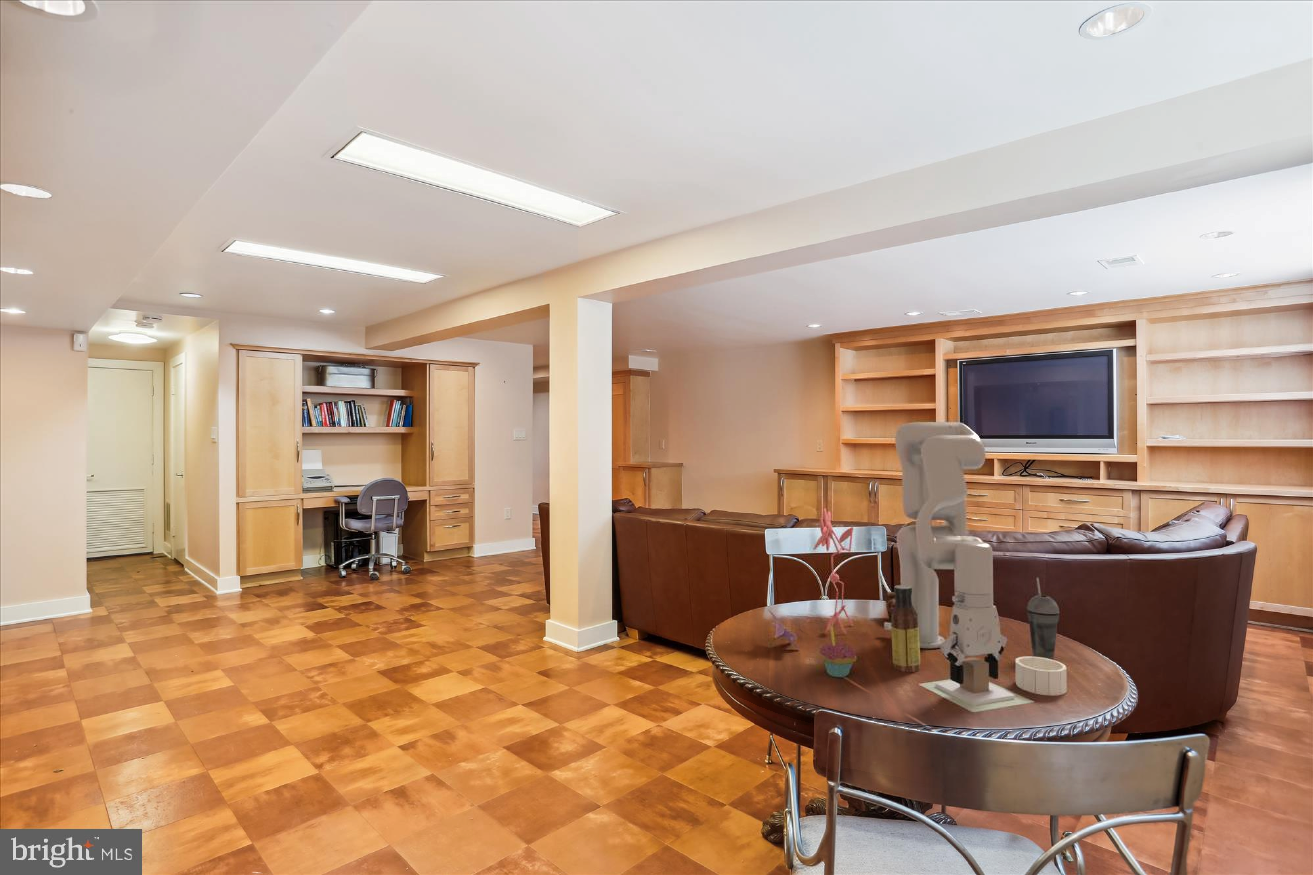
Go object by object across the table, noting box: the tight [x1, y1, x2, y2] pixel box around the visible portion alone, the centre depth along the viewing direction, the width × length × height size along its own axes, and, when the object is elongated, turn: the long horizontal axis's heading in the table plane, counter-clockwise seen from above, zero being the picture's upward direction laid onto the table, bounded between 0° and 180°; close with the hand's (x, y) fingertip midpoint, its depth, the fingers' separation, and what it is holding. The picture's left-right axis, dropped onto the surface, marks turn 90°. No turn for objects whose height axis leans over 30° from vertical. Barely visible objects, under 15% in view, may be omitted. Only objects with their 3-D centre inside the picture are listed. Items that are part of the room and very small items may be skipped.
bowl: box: [1015, 655, 1068, 697], centre depth 145 cm, size 10×10×6 cm
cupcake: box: [819, 624, 858, 678], centre depth 155 cm, size 9×8×12 cm
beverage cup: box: [1026, 577, 1061, 660], centre depth 166 cm, size 7×7×20 cm
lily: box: [767, 608, 799, 650], centre depth 174 cm, size 12×12×10 cm
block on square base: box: [935, 656, 1015, 706], centre depth 142 cm, size 11×11×7 cm
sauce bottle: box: [890, 584, 921, 673], centre depth 158 cm, size 7×6×20 cm
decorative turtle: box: [884, 591, 895, 621], centre depth 199 cm, size 10×15×8 cm, turn 27°
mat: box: [918, 678, 1035, 713], centre depth 142 cm, size 16×16×1 cm
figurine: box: [807, 507, 858, 635], centre depth 194 cm, size 15×26×35 cm, turn 152°
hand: (974, 679), depth 142 cm, fingers open, 8 cm apart
